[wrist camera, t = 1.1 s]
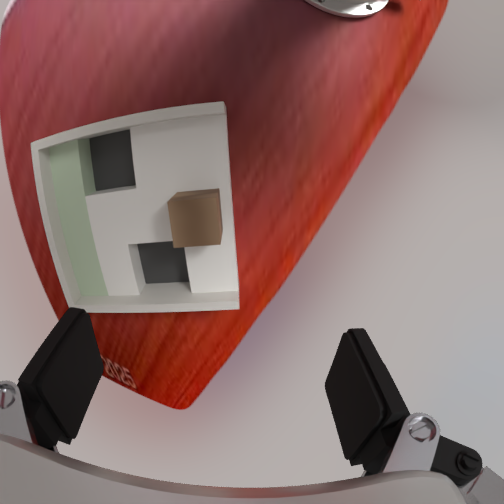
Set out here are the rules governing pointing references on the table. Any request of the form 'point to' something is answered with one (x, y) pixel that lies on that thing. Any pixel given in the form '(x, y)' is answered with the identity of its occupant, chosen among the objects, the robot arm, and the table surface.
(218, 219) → the walnut block
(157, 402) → the table surface
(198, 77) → the table surface
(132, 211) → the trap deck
